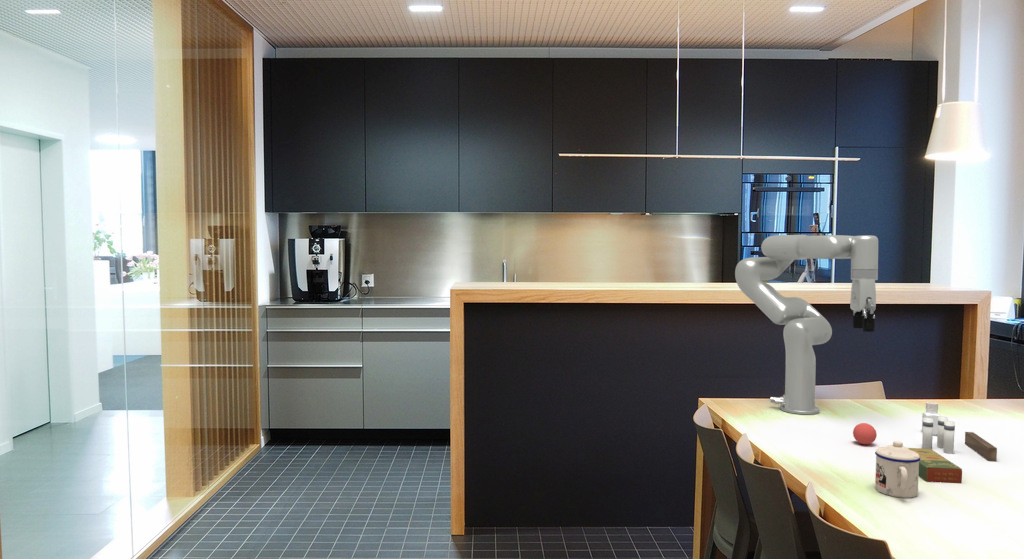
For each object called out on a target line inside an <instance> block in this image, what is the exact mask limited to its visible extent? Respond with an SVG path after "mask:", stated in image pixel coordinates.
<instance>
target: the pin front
mask: <svg viewBox="0 0 1024 559" xmlns="http://www.w3.org/2000/svg"><path fill="white" fill-rule="evenodd" d="M933 436H934V435H933V419H932V418H927V417H924V418H923V432H922V444H921V448H922V449H932V450H933V438H934V437H933Z"/></svg>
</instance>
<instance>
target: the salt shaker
mask: <svg viewBox="0 0 1024 559" xmlns="http://www.w3.org/2000/svg"><path fill="white" fill-rule="evenodd" d="M938 410H939V402H935V401H926V402H925V411H924V412H922V414H921V415H922V418H921V420H922V421H921V423H922V424H921V432H922V433H923V418H924V417H927V418H932V419H933V436H935V435H938V417H939V416H941V415H940V414H939V413H938Z"/></svg>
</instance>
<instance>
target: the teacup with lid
mask: <svg viewBox="0 0 1024 559" xmlns="http://www.w3.org/2000/svg"><path fill="white" fill-rule="evenodd" d="M903 443H904V442H902V441H899V440H893V442H892V444H889V445H885V446H882V447H878V448H877V449H876V450H875V453H874V454H875V480H874V483H875V484H874V486H875V487H874V488H875V489H876V490H877V491H878V492H879V493H881V494H883V495H886V496H889V497H895V498H903V499H906V498H907V499H909V498H915V497H917V496H918V493H919V461H920V456H919V454H918V453H916V452H914V451H911V450H909V449H908V448H909V447H906V446H904V444H903Z"/></svg>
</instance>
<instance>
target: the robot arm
mask: <svg viewBox="0 0 1024 559" xmlns="http://www.w3.org/2000/svg"><path fill="white" fill-rule="evenodd" d="M760 248H761V249H760V250H761V252H762V254H763V255H764V256H762V257H761V256H758V257H755V256H753V257H752V256H751V257H745V258H743V259H741V260H739V262H737V264H736V266H735V271H734V276H735V278H734V279H735V281H736V282H735V283H736V284H737V286H738V288H739V289H740V291H741V292H742V293H743V294H744V296H746V297H747V298H748V299H750V300H751V302H753V303H754V304H755V306H756V307H758V309H760V311H761V312H762V313H763V314H765V316H766V317H768V318H769V319H770V321H772V323H773V324H775V325H779V326H782V325H784V327H783V334H782V335H783V341H784V348H785V350H784V351H785V375H784V376H785V377H784V379H785V380H784V394H782V396H779V397H777V396H770V398H769V402H770V403H773V404H780V405H779V409H780V410H781V411H782V412H787V413H790V414H796V415H798V414H799V415H816V414H818V413H820V408H819V407H818V406H817V405H816V375H817V374H816V372H817V369H816V366H817V364H816V363H817V361H816V360H817V359H816V358H817V357H816V354H815V351H814V348H813V346H817V345H823V344H825V343H827V342H829V341H830V339H831V337H832V334H833V329H832V326H831V324H830V322H829V321H828V319H826V317H824V316H823V315H822V314H821V313H820V312H819V311H818V310H817V309H816V308H815V307H813V306H812V304H811V303H809V301H807V300H806V299H803V298H801V297H797V296H792V297H790V296H789V297H786V296H783V295H782V294H781V293H780V292H778V291H777V289H776V288H774V287H773V286H772V285H770V284H769V283H767V282H765V281H772V280H774V279H776V278H778V277H780V275H782V273H784V271H785V270H786V269H787V268H788V267H789V266H790V265H792V263H793V262H794V261H796V260H797V261H800V260H801V261H802V260H803V261H804V260H808V259H814V260H836V259H837V260H838V259H839V260H845V259H848V260H849V259H850V280H852V282H851V289H850V305H849V306H850V307H849V308H850V309H851V311H852V327H853V328H854V329H862V332H863V333H864V332H866V333H867V332H869V333H874V332H875V319H876V316H875V314H876V311H875V310H876V307H877V298H876V297H877V293H876V292H877V291H876V290H877V289H876V286H877V285H876V281H878V279H879V238H878V237H877V236H876V235H872V234H871V235H870V234H869V235H867V234H866V235H863V234H862V235H842V234H841V235H839V234H834V235H833V234H830V235H829V234H828V235H821V234H820V235H807V234H777V235H776V234H775V235H769V236H768V237H766V238H765V239H764V240H763V241H762V242H761V246H760Z"/></svg>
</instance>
